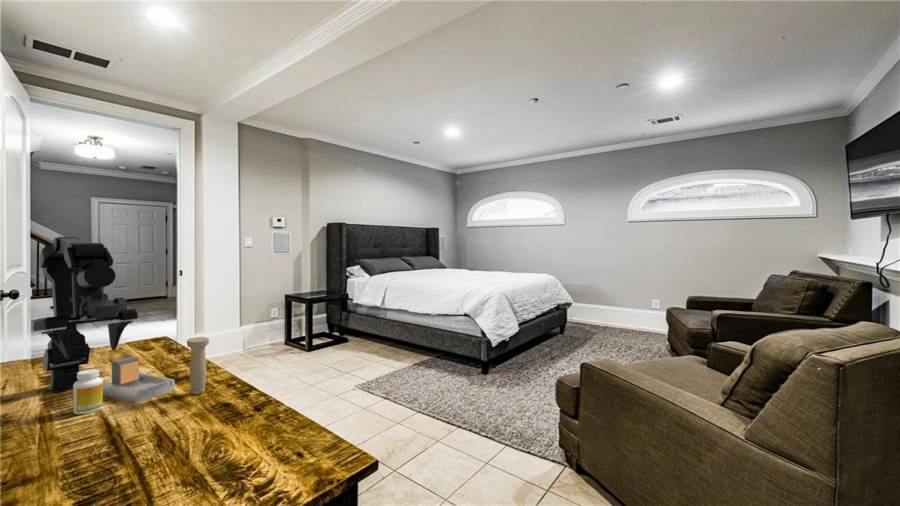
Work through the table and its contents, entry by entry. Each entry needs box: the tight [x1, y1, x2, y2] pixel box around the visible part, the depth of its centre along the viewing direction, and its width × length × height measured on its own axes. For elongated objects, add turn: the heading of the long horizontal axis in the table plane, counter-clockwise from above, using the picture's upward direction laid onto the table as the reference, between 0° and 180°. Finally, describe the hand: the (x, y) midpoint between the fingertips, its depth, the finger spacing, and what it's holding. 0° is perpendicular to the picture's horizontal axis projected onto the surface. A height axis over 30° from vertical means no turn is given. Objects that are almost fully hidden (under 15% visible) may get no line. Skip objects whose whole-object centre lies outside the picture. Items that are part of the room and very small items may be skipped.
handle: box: [186, 336, 210, 395], centre depth 106 cm, size 5×6×15 cm
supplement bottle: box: [72, 368, 104, 415], centre depth 94 cm, size 5×5×10 cm
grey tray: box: [103, 356, 176, 404], centre depth 106 cm, size 16×10×8 cm, turn 69°
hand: (91, 353), depth 95 cm, fingers open, 9 cm apart
